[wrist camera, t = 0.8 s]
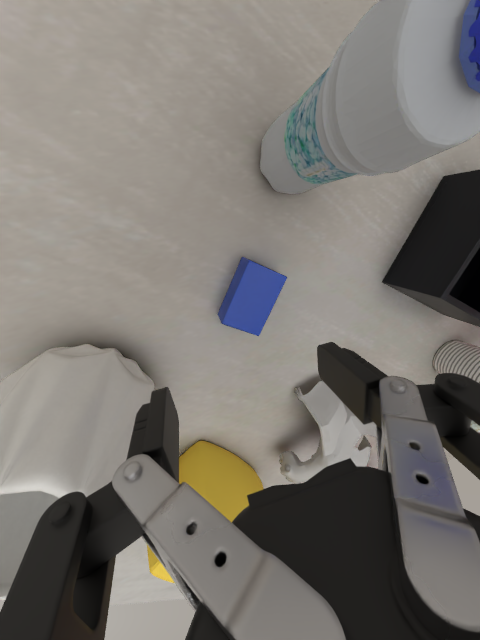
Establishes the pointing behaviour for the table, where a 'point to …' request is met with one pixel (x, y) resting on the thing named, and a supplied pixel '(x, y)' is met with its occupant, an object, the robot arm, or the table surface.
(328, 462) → the dragon figurine
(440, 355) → the cup
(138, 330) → the table surface
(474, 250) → the black open box
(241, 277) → the blue rectangular block
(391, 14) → the bottle
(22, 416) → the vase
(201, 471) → the teapot
